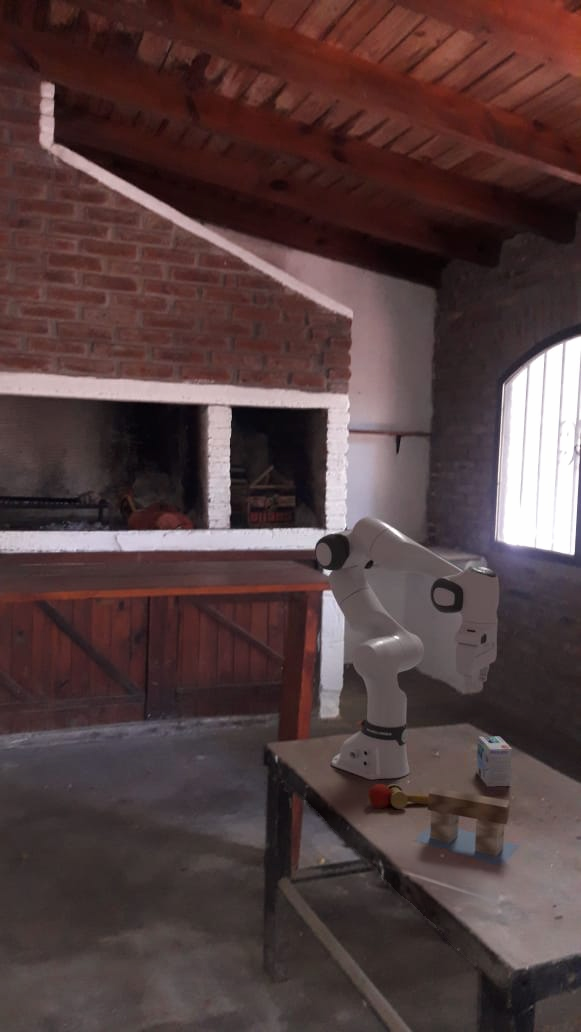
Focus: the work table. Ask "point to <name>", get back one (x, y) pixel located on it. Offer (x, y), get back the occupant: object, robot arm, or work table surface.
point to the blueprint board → (468, 846)
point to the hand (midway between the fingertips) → (475, 685)
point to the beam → (468, 805)
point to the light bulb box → (494, 761)
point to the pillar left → (444, 826)
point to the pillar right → (489, 837)
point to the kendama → (393, 796)
